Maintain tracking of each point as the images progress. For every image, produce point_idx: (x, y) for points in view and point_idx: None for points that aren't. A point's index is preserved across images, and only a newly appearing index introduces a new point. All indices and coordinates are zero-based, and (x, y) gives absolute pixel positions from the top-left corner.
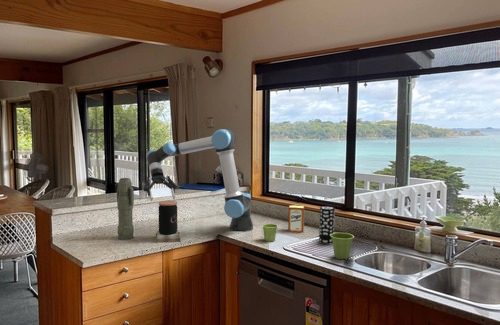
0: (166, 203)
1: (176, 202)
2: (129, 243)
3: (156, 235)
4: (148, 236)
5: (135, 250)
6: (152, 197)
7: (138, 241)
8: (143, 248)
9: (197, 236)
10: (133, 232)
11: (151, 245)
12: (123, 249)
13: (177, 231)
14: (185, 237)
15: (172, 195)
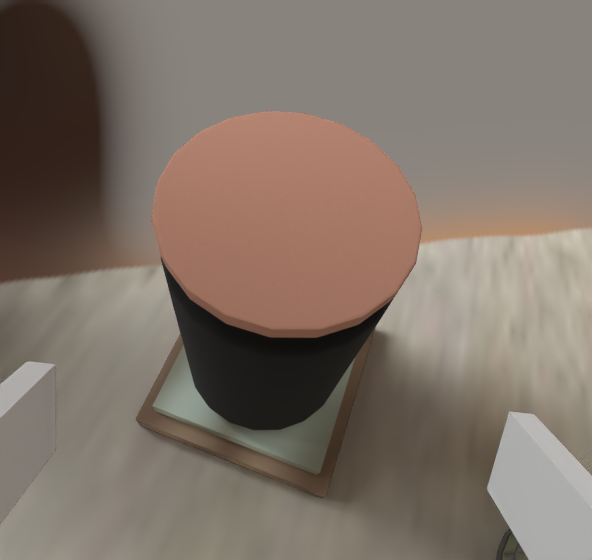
0: (337, 152)
1: (189, 146)
2: (529, 400)
3: (342, 411)
4: (375, 527)
5: (502, 250)
6: (521, 422)
7: (469, 417)
8: (458, 260)
9: (47, 324)
10: (518, 551)
11: (405, 289)
12: (563, 297)
13: (179, 363)
14: (136, 345)
15: (5, 498)
